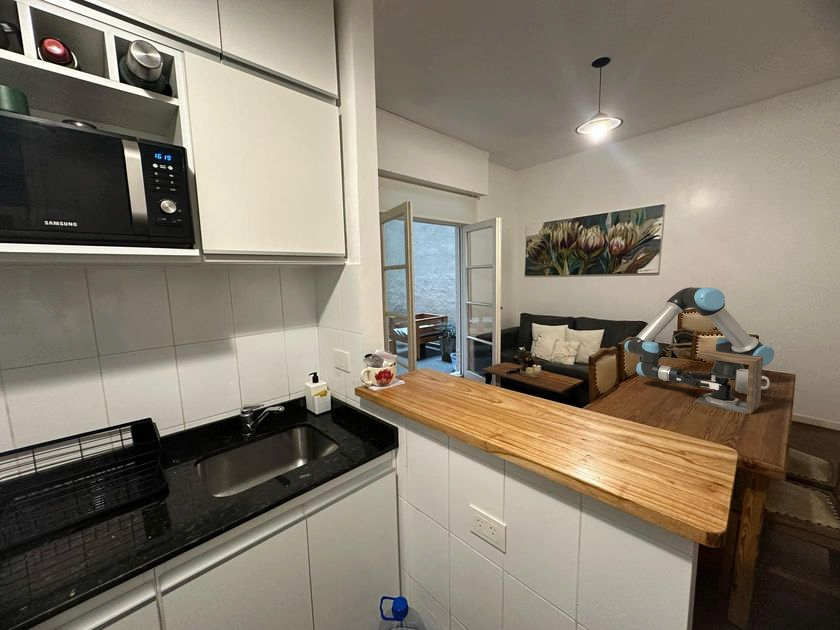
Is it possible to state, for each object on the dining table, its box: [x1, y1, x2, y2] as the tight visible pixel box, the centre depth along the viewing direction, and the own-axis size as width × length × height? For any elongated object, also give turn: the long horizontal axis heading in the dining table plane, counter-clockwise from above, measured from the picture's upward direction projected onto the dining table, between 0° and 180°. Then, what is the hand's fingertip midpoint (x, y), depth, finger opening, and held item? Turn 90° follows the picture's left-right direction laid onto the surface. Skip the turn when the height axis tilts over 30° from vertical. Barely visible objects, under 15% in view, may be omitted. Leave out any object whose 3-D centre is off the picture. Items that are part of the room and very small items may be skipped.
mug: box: [735, 368, 771, 395], centre depth 165 cm, size 12×8×11 cm
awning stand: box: [694, 349, 763, 415], centre depth 152 cm, size 13×20×24 cm, turn 32°
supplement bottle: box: [711, 376, 733, 401], centre depth 154 cm, size 7×7×12 cm
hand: (724, 383), depth 153 cm, fingers open, 13 cm apart
